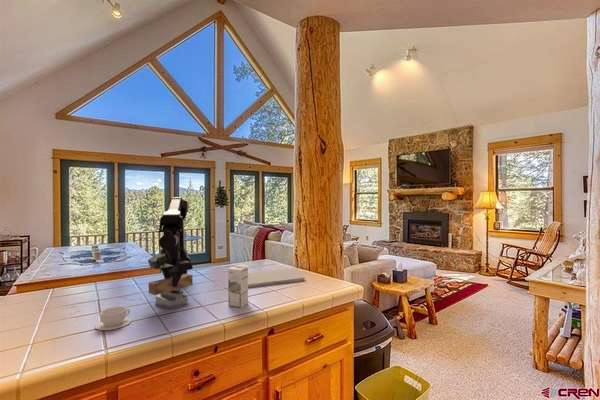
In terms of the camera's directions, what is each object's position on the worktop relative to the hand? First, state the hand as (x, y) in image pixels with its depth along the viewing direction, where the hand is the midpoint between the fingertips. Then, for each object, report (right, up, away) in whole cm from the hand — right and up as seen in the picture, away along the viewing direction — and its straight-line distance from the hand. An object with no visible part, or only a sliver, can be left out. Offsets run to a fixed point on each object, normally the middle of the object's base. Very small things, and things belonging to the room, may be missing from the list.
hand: (171, 285), depth 116 cm
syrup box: (+26, -7, -1) cm, 27 cm away
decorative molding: (+35, -8, +31) cm, 47 cm away
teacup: (-11, -8, -19) cm, 23 cm away
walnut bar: (0, -1, 0) cm, 1 cm away
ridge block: (0, -7, 0) cm, 7 cm away
